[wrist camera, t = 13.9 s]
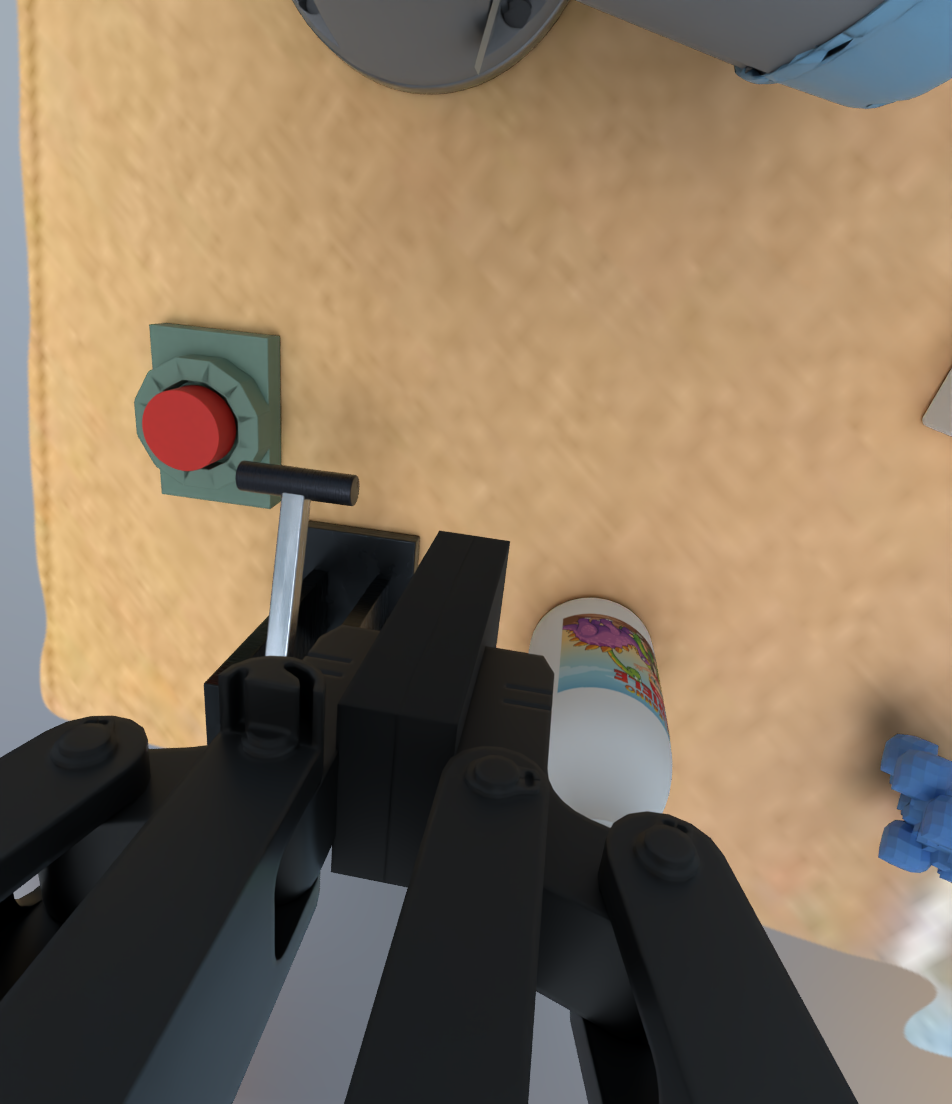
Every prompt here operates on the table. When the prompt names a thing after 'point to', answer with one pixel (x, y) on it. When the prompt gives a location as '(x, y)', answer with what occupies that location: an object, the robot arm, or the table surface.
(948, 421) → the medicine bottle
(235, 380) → the button box
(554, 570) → the table surface
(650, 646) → the milk bottle
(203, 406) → the button
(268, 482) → the lever
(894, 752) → the grapes
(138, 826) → the robot arm
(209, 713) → the bracket
